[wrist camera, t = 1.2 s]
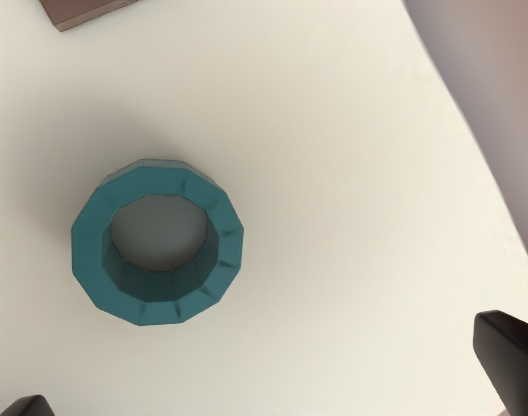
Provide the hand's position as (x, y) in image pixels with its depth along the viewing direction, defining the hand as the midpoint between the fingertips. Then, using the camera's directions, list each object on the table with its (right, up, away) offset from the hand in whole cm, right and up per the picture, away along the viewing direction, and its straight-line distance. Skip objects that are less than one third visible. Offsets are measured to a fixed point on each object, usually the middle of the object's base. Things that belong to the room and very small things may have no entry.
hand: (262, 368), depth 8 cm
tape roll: (-5, +2, +11) cm, 12 cm away
